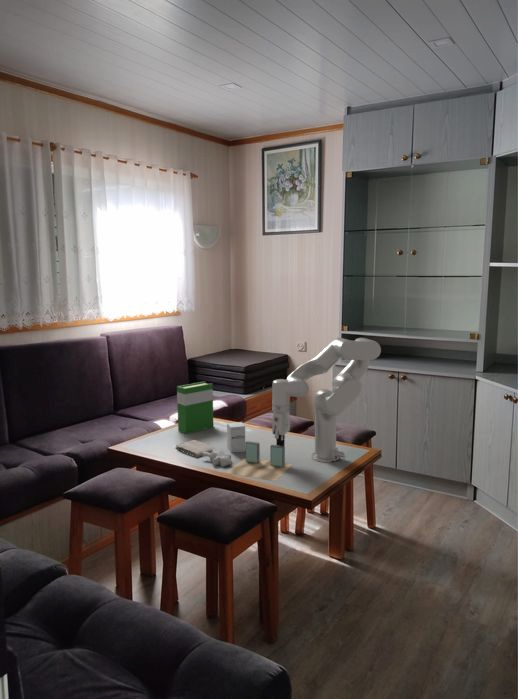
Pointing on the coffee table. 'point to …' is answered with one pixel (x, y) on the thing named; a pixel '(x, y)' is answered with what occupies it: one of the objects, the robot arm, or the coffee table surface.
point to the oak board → (258, 470)
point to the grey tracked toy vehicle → (194, 448)
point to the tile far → (252, 452)
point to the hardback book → (195, 407)
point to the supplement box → (236, 437)
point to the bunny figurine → (218, 457)
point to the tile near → (277, 455)
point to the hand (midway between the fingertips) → (280, 448)
